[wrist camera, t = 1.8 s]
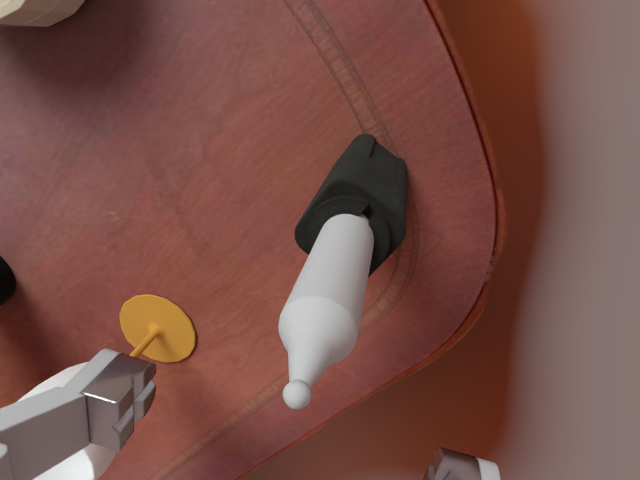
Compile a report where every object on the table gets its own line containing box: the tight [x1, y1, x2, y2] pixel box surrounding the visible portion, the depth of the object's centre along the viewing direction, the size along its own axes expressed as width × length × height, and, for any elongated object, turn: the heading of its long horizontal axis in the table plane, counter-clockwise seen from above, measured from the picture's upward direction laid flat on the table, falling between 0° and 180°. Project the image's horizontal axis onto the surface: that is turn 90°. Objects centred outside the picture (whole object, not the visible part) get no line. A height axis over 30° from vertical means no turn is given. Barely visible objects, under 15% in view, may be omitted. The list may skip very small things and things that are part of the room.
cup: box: [17, 294, 196, 480], centre depth 39 cm, size 9×9×16 cm
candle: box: [279, 134, 407, 409], centre depth 23 cm, size 5×5×25 cm
